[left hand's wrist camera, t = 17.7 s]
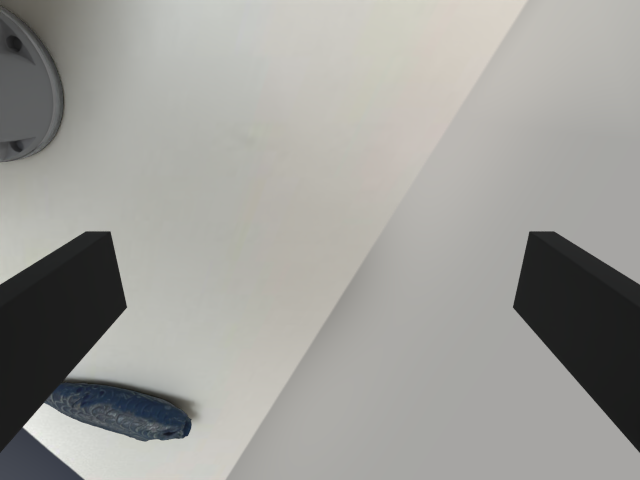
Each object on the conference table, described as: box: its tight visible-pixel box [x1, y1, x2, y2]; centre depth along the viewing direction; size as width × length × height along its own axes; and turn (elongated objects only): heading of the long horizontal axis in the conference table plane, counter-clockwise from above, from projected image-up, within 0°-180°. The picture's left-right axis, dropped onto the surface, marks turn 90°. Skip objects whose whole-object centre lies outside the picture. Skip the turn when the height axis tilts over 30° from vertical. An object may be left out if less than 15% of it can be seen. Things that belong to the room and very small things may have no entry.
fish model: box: [44, 383, 191, 441], centre depth 51 cm, size 7×21×5 cm, turn 77°
